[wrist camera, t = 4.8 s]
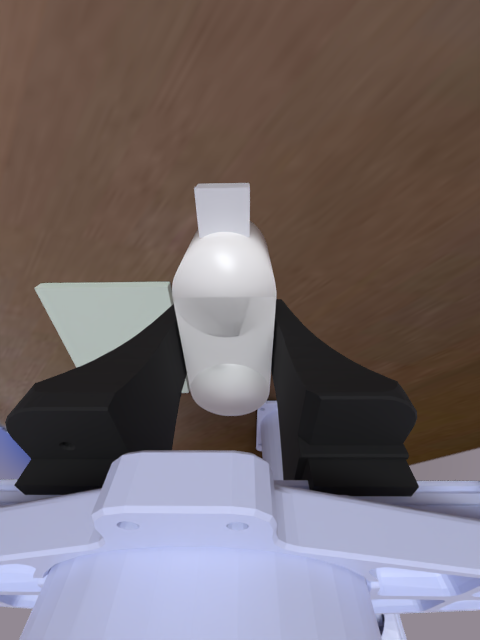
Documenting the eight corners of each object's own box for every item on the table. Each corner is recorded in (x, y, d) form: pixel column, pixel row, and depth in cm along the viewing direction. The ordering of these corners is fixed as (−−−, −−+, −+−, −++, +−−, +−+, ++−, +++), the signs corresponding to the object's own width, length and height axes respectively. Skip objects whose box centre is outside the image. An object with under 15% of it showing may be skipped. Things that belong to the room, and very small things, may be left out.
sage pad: (190, 386, 27) (188, 392, 26) (93, 386, 27) (90, 393, 26) (169, 281, 20) (167, 286, 19) (41, 283, 20) (34, 288, 20)
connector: (262, 359, 16) (267, 415, 13) (205, 359, 16) (195, 416, 13) (270, 177, 10) (283, 195, 7) (181, 178, 11) (153, 197, 7)
